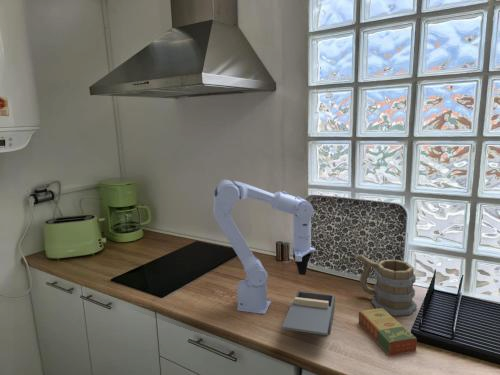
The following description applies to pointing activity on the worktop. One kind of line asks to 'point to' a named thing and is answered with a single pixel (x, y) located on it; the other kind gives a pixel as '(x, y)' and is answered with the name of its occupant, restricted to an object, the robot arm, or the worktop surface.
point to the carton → (387, 331)
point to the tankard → (390, 285)
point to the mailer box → (320, 297)
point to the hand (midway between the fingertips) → (302, 273)
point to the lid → (308, 316)
